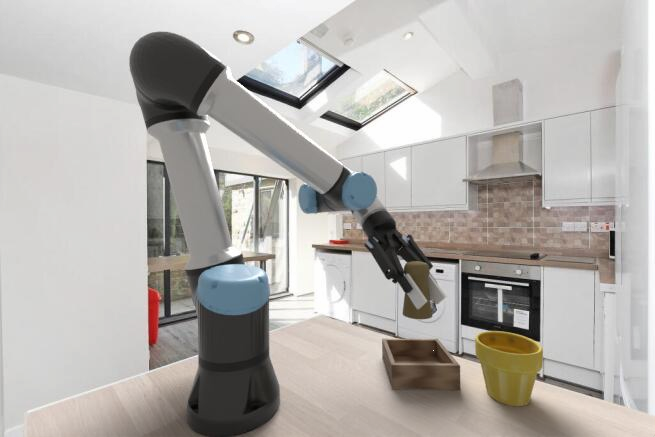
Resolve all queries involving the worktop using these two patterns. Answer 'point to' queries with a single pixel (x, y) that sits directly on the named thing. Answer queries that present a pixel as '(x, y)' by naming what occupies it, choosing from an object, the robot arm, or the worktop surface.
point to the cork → (419, 276)
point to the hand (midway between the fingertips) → (432, 302)
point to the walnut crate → (420, 364)
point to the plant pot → (508, 365)
